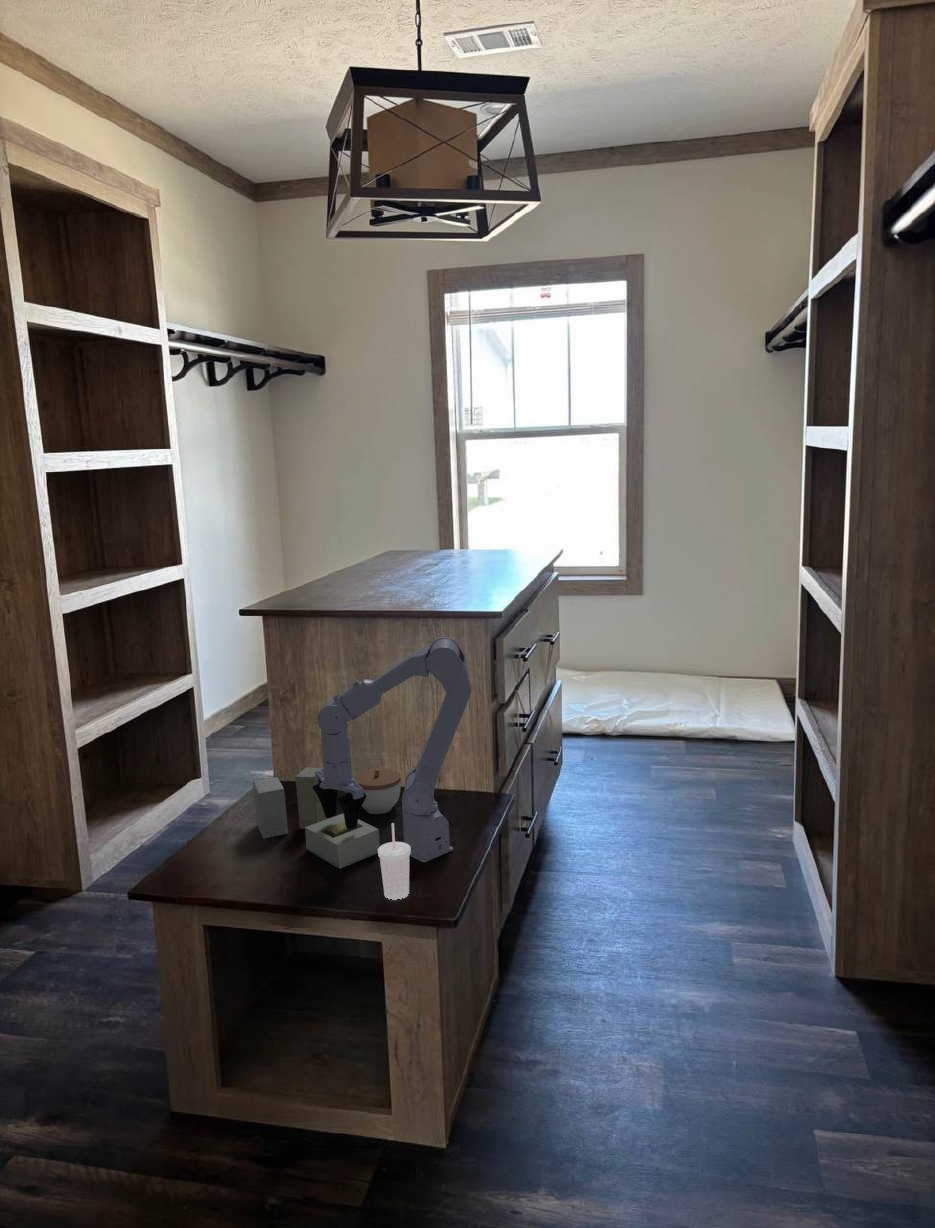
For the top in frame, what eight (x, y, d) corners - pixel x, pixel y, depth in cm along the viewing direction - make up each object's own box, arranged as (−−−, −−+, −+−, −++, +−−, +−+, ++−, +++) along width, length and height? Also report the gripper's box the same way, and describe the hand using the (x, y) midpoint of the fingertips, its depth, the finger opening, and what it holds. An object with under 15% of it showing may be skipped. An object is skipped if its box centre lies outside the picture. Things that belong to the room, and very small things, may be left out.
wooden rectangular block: (355, 847, 185) (354, 824, 184) (336, 855, 182) (334, 832, 181) (347, 843, 187) (345, 820, 186) (327, 851, 184) (325, 828, 183)
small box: (288, 834, 194) (284, 788, 192) (262, 839, 192) (258, 793, 190) (281, 820, 201) (278, 776, 199) (256, 825, 199) (252, 780, 197)
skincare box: (317, 830, 195) (313, 777, 193) (298, 829, 196) (294, 776, 194) (328, 818, 201) (324, 767, 199) (309, 817, 202) (305, 766, 200)
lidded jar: (356, 800, 210) (354, 762, 209) (402, 798, 211) (400, 760, 209) (353, 819, 200) (351, 780, 198) (402, 817, 200) (400, 777, 199)
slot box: (380, 852, 184) (378, 829, 183) (339, 869, 177) (337, 845, 176) (346, 834, 193) (345, 812, 192) (306, 849, 186) (304, 827, 185)
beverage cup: (400, 882, 171) (396, 813, 168) (419, 894, 166) (416, 823, 164) (373, 893, 167) (369, 823, 164) (393, 905, 163) (388, 833, 160)
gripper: (300, 755, 184) (305, 817, 186) (340, 773, 173) (345, 839, 176) (329, 746, 188) (333, 807, 191) (370, 763, 178) (374, 827, 180)
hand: (341, 822), depth 184 cm, fingers open, 7 cm apart
